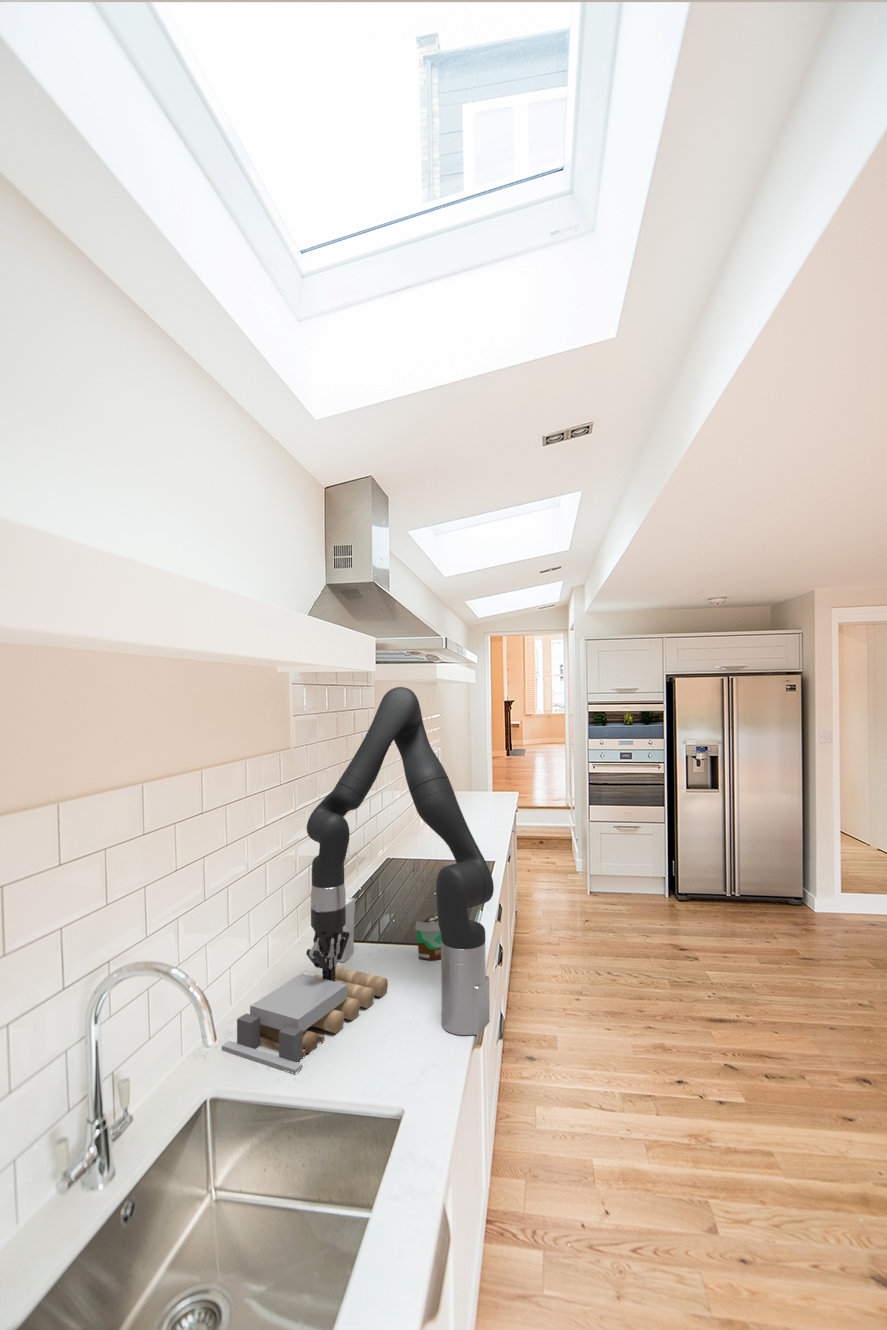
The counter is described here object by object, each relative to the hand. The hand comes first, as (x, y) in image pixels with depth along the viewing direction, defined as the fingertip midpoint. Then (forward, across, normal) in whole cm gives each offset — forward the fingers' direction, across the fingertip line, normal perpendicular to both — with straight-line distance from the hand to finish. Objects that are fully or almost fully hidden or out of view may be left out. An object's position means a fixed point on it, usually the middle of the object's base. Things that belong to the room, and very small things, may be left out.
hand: (329, 983), depth 145 cm
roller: (+6, +14, 0) cm, 15 cm away
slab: (+1, +10, 0) cm, 10 cm away
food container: (+6, -35, +9) cm, 37 cm away
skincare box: (+6, -23, -15) cm, 28 cm away
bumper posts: (+5, +19, 0) cm, 20 cm away
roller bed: (+6, +3, 0) cm, 6 cm away
